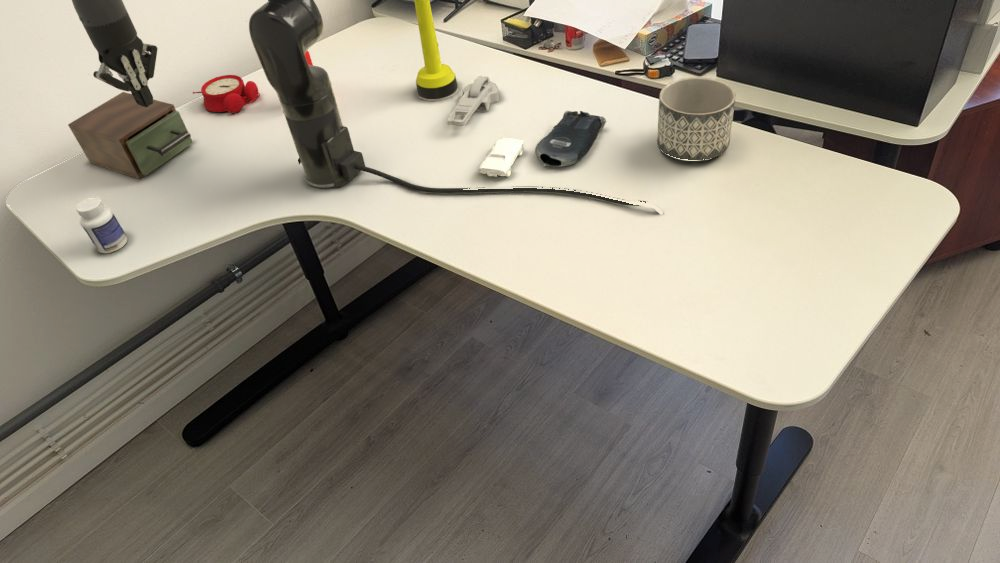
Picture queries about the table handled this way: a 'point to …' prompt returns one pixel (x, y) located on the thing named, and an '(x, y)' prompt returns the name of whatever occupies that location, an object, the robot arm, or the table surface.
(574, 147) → the electronic device
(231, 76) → the alarm clock
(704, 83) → the planter
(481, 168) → the toy car
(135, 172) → the cabinet
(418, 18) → the flashlight
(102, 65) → the robot arm
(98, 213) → the pill bottle
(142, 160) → the drawer
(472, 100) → the zipper pull
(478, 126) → the table surface
